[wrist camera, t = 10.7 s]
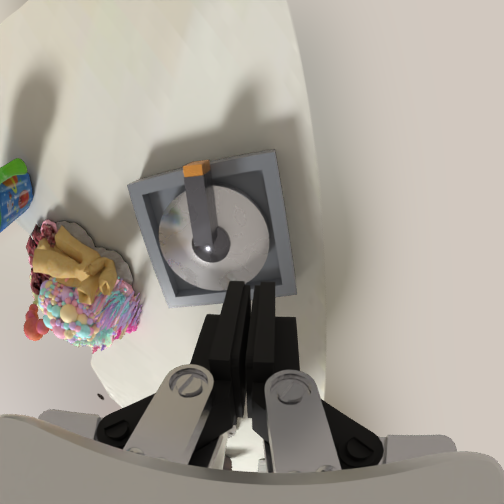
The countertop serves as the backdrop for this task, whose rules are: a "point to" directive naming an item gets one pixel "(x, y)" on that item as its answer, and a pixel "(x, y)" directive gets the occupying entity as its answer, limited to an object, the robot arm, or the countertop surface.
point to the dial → (213, 232)
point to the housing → (237, 175)
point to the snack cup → (14, 192)
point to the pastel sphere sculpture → (78, 288)
